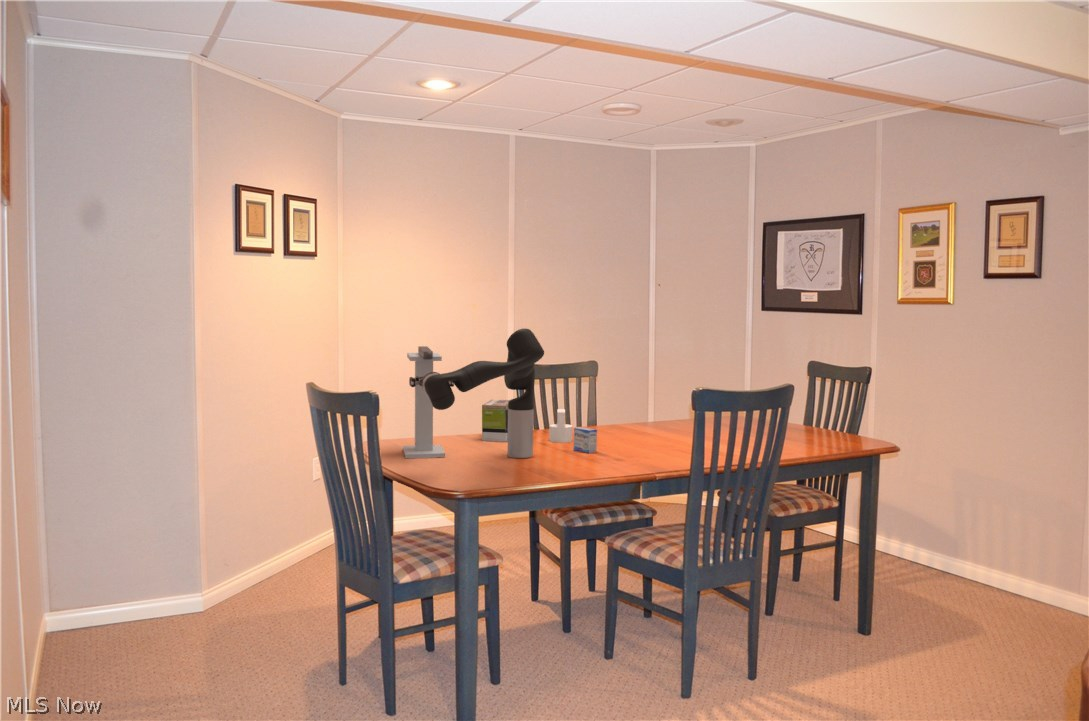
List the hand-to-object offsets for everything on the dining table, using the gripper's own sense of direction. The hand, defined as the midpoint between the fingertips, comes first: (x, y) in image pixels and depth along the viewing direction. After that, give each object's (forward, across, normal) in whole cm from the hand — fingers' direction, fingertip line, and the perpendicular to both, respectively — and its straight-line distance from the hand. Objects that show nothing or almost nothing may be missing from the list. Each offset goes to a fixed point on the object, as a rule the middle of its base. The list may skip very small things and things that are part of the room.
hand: (430, 379), depth 287 cm
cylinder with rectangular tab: (+44, +56, -30) cm, 77 cm away
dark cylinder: (+20, 0, +6) cm, 20 cm away
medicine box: (+22, +60, -30) cm, 70 cm away
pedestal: (+25, 0, -30) cm, 39 cm away
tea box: (+52, +32, -30) cm, 68 cm away
